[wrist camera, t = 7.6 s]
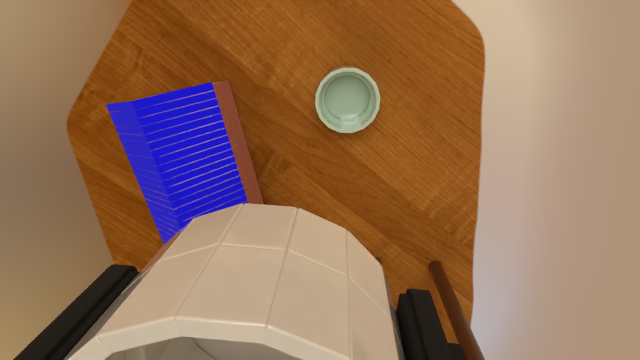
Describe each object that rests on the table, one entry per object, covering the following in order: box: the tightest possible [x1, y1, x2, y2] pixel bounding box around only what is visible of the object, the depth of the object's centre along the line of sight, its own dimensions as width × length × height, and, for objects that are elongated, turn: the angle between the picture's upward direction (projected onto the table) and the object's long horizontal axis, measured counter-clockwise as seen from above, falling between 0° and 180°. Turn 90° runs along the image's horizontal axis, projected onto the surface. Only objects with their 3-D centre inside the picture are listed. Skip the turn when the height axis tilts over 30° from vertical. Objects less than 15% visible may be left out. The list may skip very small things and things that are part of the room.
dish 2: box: [315, 65, 380, 133], centre depth 40 cm, size 7×7×4 cm
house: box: [106, 80, 264, 244], centre depth 41 cm, size 12×20×12 cm, turn 11°
